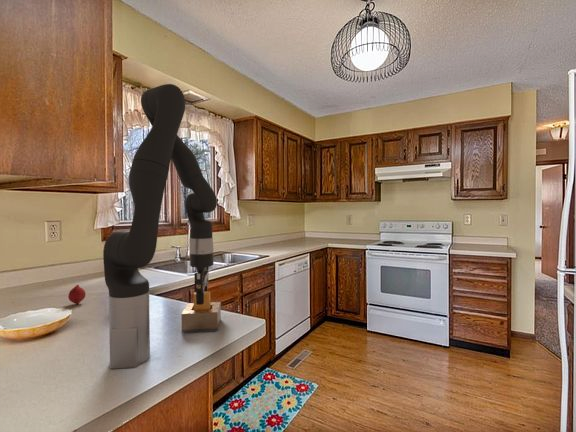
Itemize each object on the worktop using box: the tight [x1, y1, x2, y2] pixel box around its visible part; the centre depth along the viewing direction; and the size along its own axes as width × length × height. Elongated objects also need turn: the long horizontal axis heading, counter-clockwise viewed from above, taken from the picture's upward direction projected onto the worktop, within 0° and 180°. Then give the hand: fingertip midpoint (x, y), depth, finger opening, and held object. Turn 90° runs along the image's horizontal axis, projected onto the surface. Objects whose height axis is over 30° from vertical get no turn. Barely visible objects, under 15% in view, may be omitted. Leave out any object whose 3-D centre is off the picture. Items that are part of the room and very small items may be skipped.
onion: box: [67, 284, 87, 305], centre depth 126 cm, size 6×6×8 cm
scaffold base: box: [181, 301, 222, 334], centre depth 102 cm, size 11×11×6 cm
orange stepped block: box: [193, 290, 211, 310], centre depth 102 cm, size 3×5×10 cm, turn 97°
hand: (202, 300), depth 102 cm, fingers open, 8 cm apart
